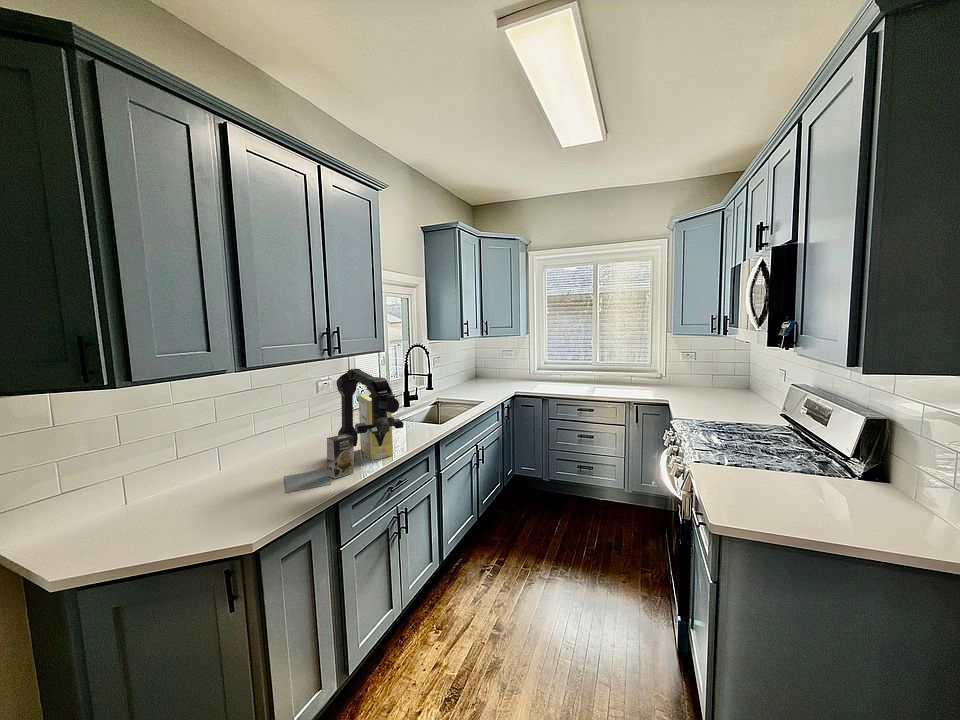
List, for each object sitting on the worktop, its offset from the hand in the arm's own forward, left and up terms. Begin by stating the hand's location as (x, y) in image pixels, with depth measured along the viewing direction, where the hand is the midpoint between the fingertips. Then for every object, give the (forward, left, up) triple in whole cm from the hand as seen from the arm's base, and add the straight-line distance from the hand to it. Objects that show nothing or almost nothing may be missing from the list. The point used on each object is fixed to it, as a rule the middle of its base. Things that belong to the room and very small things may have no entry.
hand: (380, 446), depth 164 cm
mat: (-10, -28, -13) cm, 32 cm away
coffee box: (-10, -15, -13) cm, 22 cm away
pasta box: (-31, +5, -13) cm, 34 cm away
